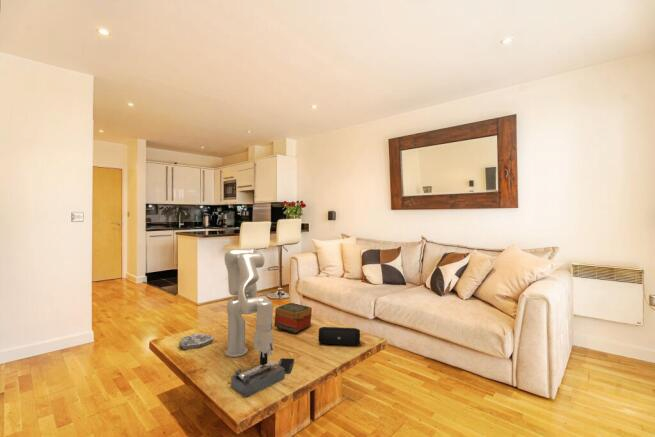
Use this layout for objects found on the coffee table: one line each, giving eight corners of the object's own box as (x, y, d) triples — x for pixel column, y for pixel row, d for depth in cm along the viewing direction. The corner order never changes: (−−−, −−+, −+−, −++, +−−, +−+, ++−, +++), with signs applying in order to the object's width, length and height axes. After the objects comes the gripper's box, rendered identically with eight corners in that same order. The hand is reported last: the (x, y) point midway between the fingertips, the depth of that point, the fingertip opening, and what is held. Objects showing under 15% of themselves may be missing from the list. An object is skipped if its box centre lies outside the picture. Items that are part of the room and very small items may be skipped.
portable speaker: (318, 346, 188) (318, 330, 188) (319, 339, 198) (320, 324, 198) (359, 348, 186) (360, 331, 186) (359, 341, 196) (359, 326, 196)
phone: (274, 372, 155) (280, 358, 170) (274, 374, 155) (280, 360, 170) (290, 372, 154) (294, 358, 169) (290, 374, 154) (294, 360, 169)
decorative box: (271, 330, 214) (271, 308, 212) (292, 319, 232) (292, 298, 230) (294, 339, 203) (293, 315, 201) (314, 326, 221) (314, 304, 219)
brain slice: (205, 335, 202) (205, 331, 202) (216, 343, 190) (216, 339, 190) (173, 344, 188) (173, 339, 188) (183, 353, 176) (183, 348, 176)
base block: (245, 397, 134) (245, 379, 134) (231, 387, 142) (231, 369, 142) (284, 378, 150) (284, 362, 150) (269, 369, 158) (269, 354, 158)
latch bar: (243, 381, 137) (243, 376, 137) (237, 377, 140) (237, 372, 140) (276, 366, 151) (276, 362, 151) (269, 363, 154) (270, 359, 154)
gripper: (248, 324, 150) (248, 361, 151) (267, 333, 140) (266, 372, 141) (261, 320, 156) (260, 356, 156) (280, 328, 146) (279, 366, 146)
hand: (263, 363), depth 149 cm, fingers closed
